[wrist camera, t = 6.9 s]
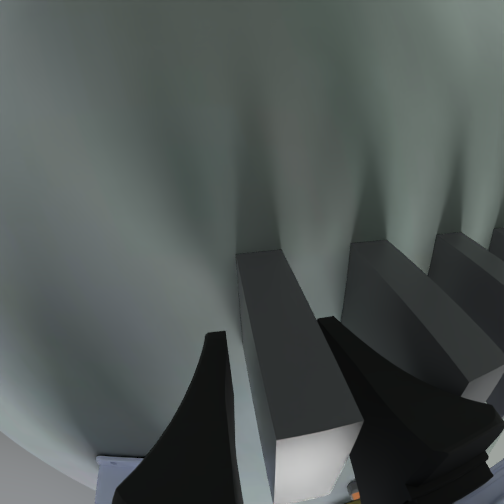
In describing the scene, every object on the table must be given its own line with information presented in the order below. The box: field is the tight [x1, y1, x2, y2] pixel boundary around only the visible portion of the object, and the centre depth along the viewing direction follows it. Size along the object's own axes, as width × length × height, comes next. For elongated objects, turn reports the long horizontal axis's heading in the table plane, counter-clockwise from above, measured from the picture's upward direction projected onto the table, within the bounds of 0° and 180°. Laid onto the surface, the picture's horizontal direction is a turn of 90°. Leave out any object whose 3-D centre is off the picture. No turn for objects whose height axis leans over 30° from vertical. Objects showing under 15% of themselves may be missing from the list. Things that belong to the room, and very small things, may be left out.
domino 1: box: [236, 250, 364, 504], centre depth 10 cm, size 2×5×8 cm, turn 2°
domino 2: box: [341, 240, 504, 403], centre depth 10 cm, size 2×5×8 cm, turn 2°
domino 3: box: [428, 232, 504, 419], centre depth 11 cm, size 2×5×8 cm, turn 2°
